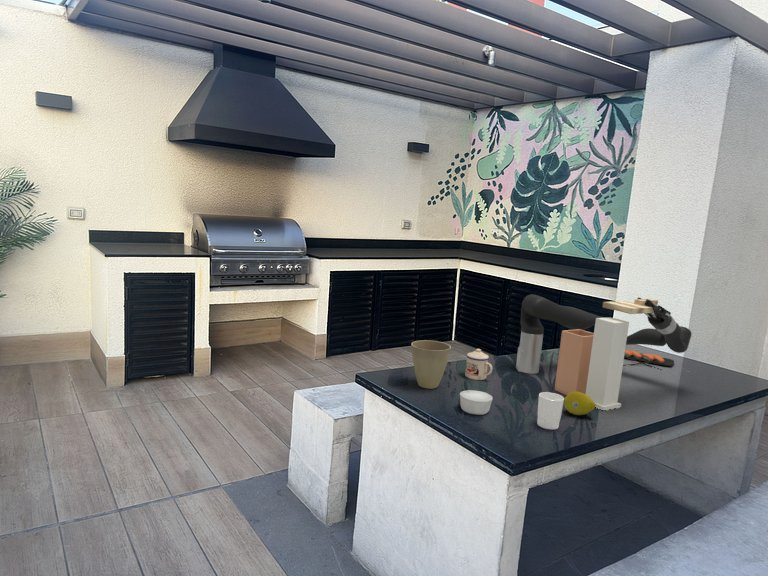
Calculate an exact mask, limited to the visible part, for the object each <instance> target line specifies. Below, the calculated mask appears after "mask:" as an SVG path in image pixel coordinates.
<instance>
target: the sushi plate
mask: <svg viewBox="0 0 768 576" xmlns="http://www.w3.org/2000/svg"><path fill="white" fill-rule="evenodd" d="M626 358H627V359H626ZM624 359H626V360H631V361H634V362H637V363H627V364H623V367H624V366H625V367H627V366H626V365H631V366H635V365H636V366H637V365H644V366H646V367H649V366H650V367H649V368H652V367H654V368H653V369H655V368H657V369H656V370H659V369H660V371H662V369H661V368H658V367H656V366H652V365H657V364H658V366H664V367H666V366H667V367H672V366H674V364H675V360H674V359H671V358H667V357H662V356H660V355H658V354H650V353H640V352H638V351H636V350H628V349H625V354H624ZM637 360H638V361H637ZM642 361H643V362H642ZM652 363H653V364H652ZM649 364H652V365H649Z"/></svg>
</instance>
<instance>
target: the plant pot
mask: <svg viewBox="0 0 768 576" xmlns="http://www.w3.org/2000/svg"><path fill="white" fill-rule="evenodd" d="M410 346H411V356H412V357H411V358H412V364H413V365H412V366H413V369H414V374H415V377H416V382H417V385H418V386H419V387H421V388H423V389H429V390H430V389H431V390H432V389H436V388H438V387H439V385H440V383H441V380H442V378H443V375H444V373H445V370H446V368H447V365H448V361H449V357H450V353H451V349H452V346H451V345H450V344H448V343H445V342H443V341H438V340H426V339H424V340H415V341H413V342H411V345H410Z"/></svg>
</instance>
